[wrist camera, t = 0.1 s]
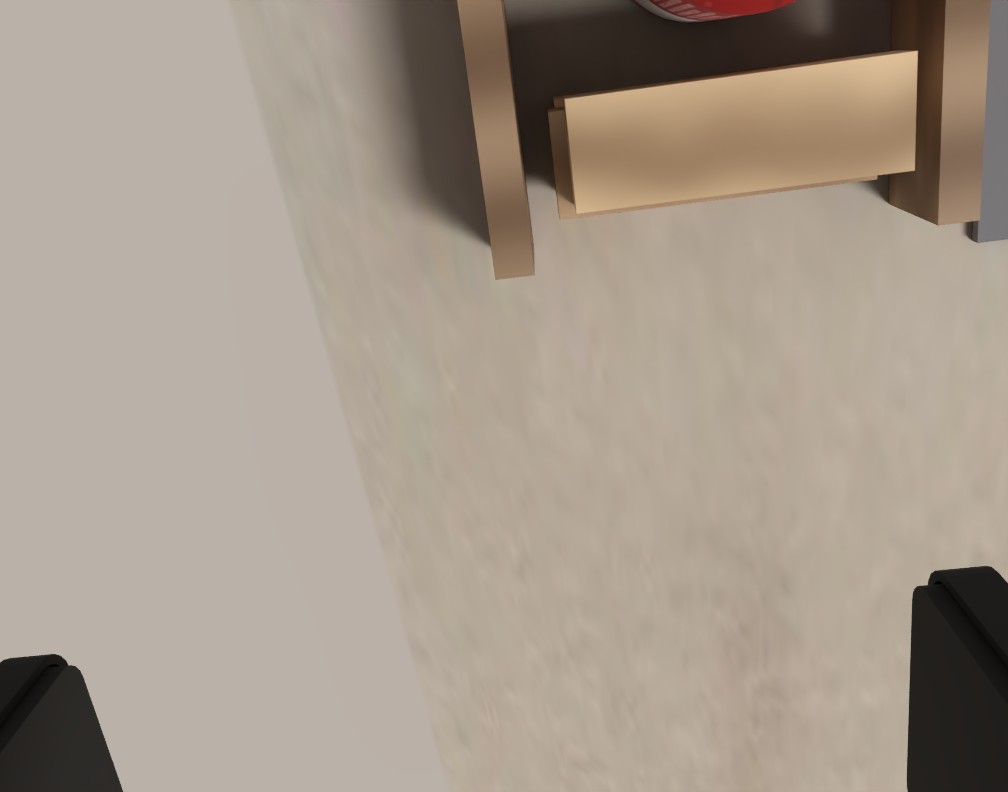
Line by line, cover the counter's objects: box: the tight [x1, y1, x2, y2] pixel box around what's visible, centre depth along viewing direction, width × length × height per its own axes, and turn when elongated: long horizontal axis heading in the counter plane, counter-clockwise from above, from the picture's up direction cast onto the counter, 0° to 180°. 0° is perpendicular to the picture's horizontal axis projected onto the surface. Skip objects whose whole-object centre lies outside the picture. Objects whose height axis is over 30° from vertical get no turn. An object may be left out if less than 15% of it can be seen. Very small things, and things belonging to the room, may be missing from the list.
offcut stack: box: [547, 50, 918, 220], centre depth 35 cm, size 4×13×6 cm, turn 98°
